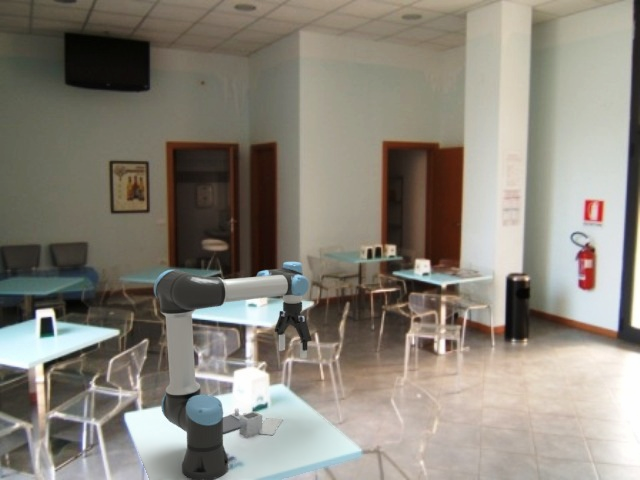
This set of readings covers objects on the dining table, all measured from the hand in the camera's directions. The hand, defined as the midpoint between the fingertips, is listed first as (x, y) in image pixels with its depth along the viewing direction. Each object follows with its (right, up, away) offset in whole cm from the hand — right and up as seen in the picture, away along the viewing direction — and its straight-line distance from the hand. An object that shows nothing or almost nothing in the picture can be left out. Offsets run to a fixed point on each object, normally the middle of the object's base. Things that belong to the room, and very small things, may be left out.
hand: (292, 354), depth 231 cm
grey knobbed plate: (-25, -27, -4) cm, 37 cm away
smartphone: (-9, -28, -5) cm, 29 cm away
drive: (-15, -28, -11) cm, 33 cm away
